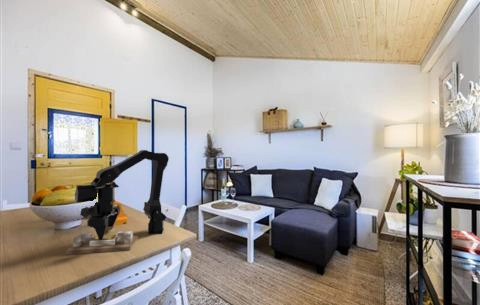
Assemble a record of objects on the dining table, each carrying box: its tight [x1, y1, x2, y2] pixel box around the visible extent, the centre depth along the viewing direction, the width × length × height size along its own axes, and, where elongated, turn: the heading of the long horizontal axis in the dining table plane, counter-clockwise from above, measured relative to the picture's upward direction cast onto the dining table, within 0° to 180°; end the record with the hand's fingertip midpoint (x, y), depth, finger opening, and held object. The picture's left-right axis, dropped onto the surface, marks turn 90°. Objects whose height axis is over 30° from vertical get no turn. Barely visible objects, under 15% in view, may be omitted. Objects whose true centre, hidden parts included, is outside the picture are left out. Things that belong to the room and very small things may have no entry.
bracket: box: [113, 200, 129, 227], centre depth 121 cm, size 11×7×12 cm, turn 132°
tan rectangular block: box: [94, 226, 116, 241], centre depth 93 cm, size 6×4×6 cm, turn 101°
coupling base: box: [66, 230, 139, 255], centre depth 93 cm, size 23×12×6 cm, turn 101°
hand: (105, 235), depth 93 cm, fingers open, 9 cm apart
